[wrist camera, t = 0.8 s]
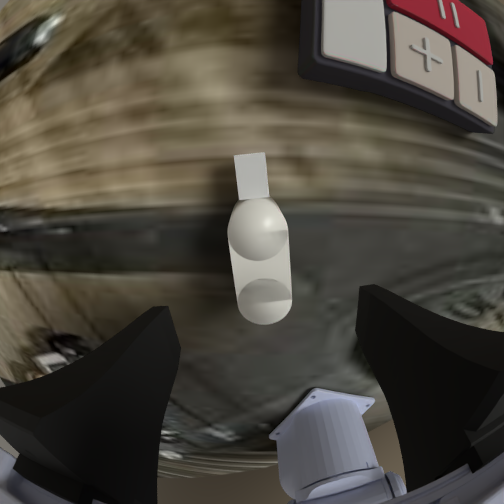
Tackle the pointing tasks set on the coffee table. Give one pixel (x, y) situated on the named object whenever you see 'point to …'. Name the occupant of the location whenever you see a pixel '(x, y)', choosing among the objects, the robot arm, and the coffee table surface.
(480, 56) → the calculator
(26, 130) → the coffee table surface
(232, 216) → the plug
